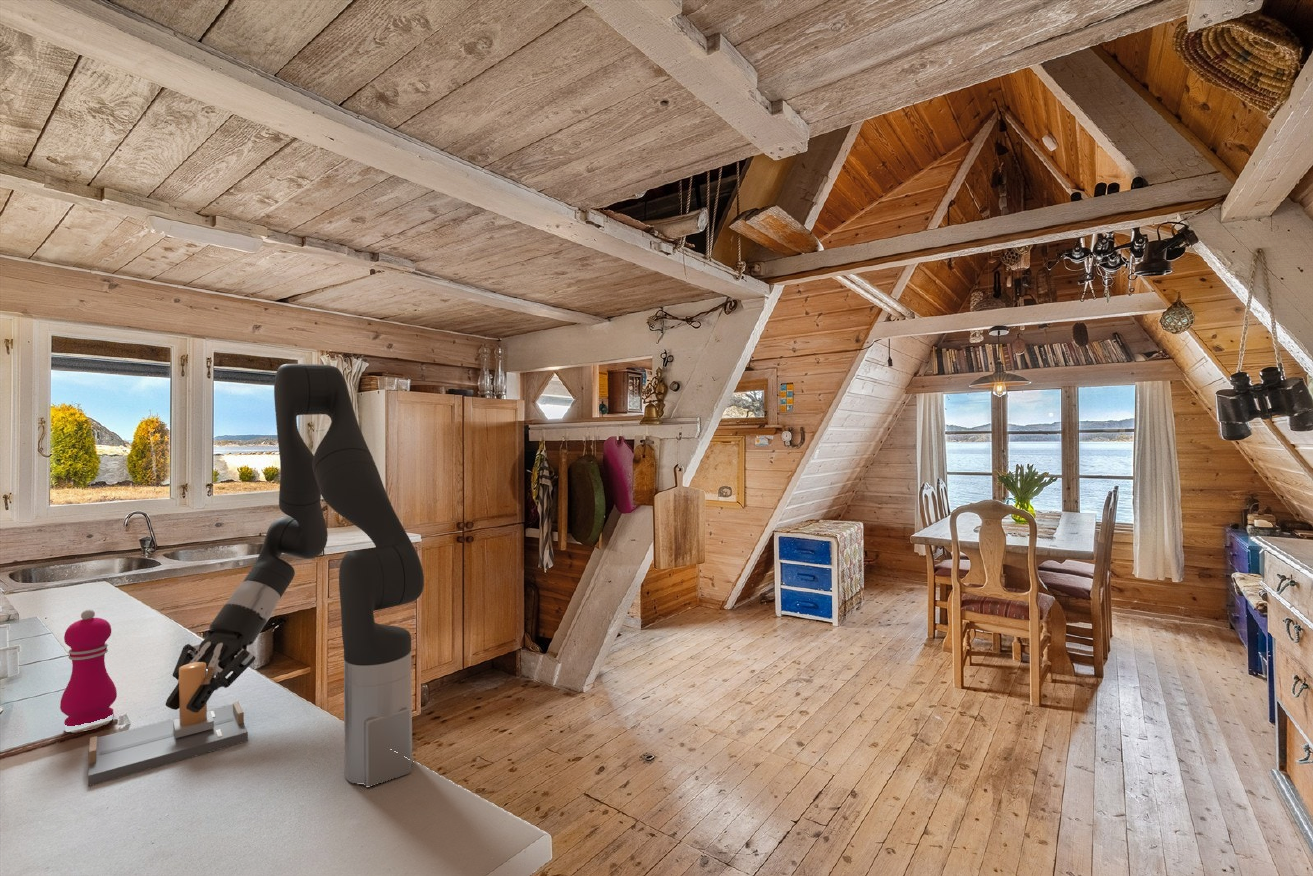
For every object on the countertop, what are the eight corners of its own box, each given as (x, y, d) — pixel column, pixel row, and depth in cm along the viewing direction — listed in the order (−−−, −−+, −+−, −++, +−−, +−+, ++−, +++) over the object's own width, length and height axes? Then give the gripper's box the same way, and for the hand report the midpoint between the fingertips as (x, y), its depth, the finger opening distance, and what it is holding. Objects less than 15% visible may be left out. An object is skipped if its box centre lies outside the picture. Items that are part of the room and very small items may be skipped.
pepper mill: (82, 737, 102) (81, 617, 102) (48, 733, 104) (47, 614, 104) (128, 717, 110) (126, 605, 109) (95, 713, 111) (94, 602, 111)
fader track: (247, 741, 101) (247, 721, 101) (88, 786, 88) (88, 763, 88) (235, 712, 111) (234, 693, 111) (91, 748, 99) (90, 728, 99)
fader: (213, 728, 102) (213, 666, 101) (175, 738, 98) (174, 674, 98) (210, 717, 105) (209, 658, 105) (173, 727, 102) (172, 665, 102)
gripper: (200, 599, 110) (129, 695, 99) (266, 604, 107) (200, 704, 95) (228, 620, 116) (163, 713, 104) (291, 625, 112) (231, 722, 101)
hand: (181, 708), depth 100 cm, fingers closed on fader, 3 cm apart
